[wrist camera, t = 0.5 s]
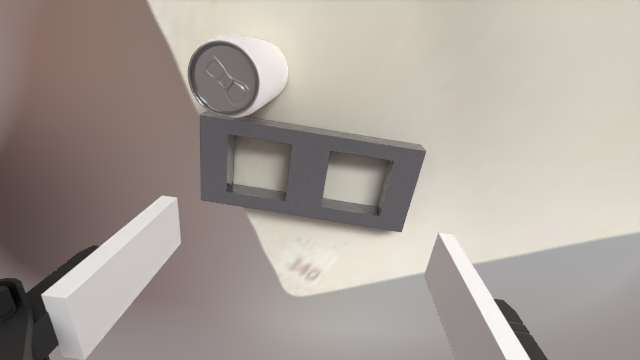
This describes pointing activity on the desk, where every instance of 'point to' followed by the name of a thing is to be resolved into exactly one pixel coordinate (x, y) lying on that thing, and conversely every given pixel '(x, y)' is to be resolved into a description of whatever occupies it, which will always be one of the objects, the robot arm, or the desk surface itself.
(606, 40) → the desk surface
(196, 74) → the can
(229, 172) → the holder
